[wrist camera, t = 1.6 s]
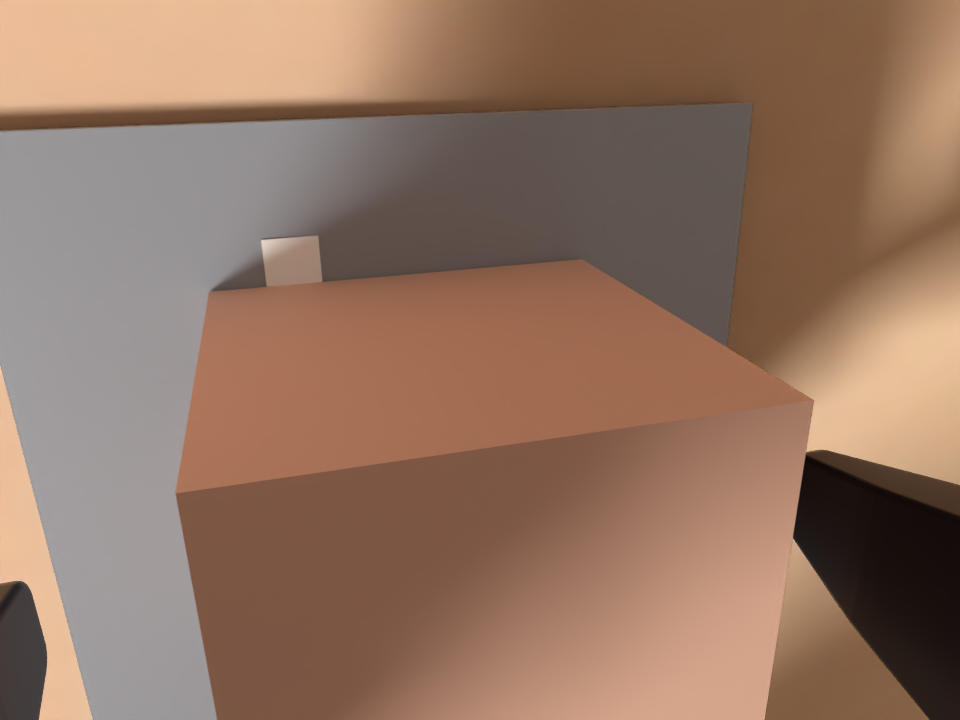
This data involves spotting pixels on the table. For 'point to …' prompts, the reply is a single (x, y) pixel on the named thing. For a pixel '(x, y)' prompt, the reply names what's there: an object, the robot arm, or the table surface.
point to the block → (484, 502)
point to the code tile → (285, 261)
